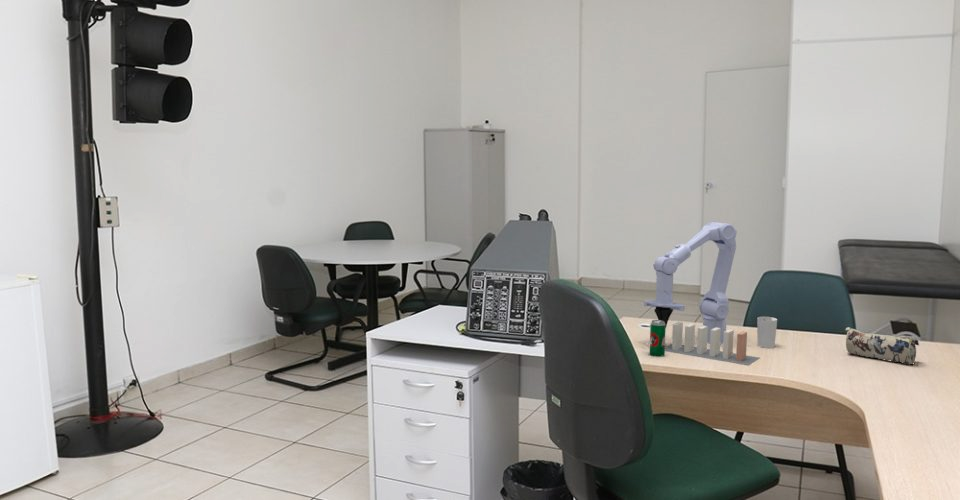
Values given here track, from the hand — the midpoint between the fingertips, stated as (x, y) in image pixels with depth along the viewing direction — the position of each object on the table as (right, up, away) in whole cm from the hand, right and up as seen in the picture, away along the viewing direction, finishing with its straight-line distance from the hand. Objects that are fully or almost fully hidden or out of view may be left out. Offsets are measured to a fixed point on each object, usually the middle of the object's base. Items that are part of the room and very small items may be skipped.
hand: (663, 328), depth 259 cm
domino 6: (+22, -9, -16) cm, 29 cm away
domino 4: (+15, -8, -11) cm, 20 cm away
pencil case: (+69, -9, -13) cm, 71 cm away
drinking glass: (+38, -7, +3) cm, 38 cm away
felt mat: (+13, -8, -10) cm, 18 cm away
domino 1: (+4, -7, -2) cm, 8 cm away
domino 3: (+11, -8, -8) cm, 16 cm away
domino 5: (+18, -8, -14) cm, 24 cm away
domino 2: (+8, -7, -5) cm, 12 cm away
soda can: (-5, -8, -11) cm, 14 cm away
